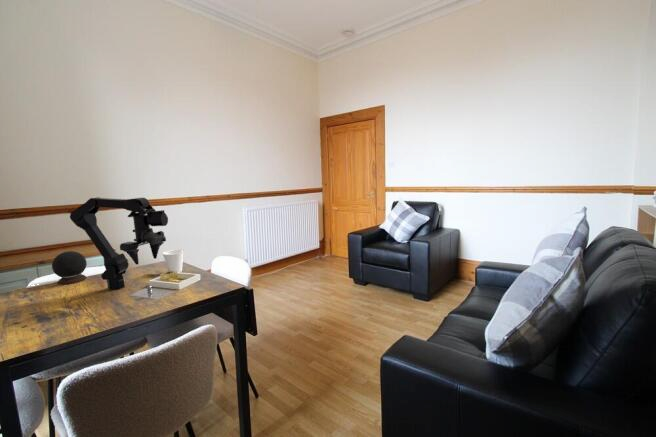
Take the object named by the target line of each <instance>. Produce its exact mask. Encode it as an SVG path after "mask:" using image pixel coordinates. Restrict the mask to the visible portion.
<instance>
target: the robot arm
mask: <svg viewBox="0 0 656 437" xmlns="http://www.w3.org/2000/svg"><path fill="white" fill-rule="evenodd" d="M100 208H107V209H108V208H109V209H123V210H126V211H128V212H130V213H129V214H128V215H127V218H132V219H133V227H134V229H132V232H133V233H134V234H135V235H134V236H135V238H134V239H133V241H126V242H122V243H120V244H119V251H123V252H124V253H127V254H126V255H128V256H129V257H130V258H131V260H132V261H133V263H134V264H135V265H139V263H140V262H139V254H138V252H139V250H140V249H138V248H139V247H141V246H144V245H148V244H149V248H150V251H151V254H152V256H153V259H154V260H155V259H157V257H158V254H159V249H160V247H161V246H162V245H163V244H164V242H167V238H166V236H165V232H164V231H162V230H159V231H155V232H154V230H153V228H152V227H167V225H168V222H169V218H168V215H167V214H166V213H165V210H164V209H161V210H156V209H155V208H154V207H153V206H152V205H151V204H150V202H149V200H148V199H147V198H146V197H135V198H128V199H126V198H125V199H124V198H123V199H122V198H107V197H99V196H98V197H91V198H89V199H87V200H86V202H84V203H82V204H81V205H80V206H78V207H77V208H76V209H74V210H72V211H71V212H70V215H69V219H70V220H71V222H72V223H73V224H74V225H75V226H76V227H78V228H79V229H82V230H83V231H84V232H85V234H86V235H87V237H88V238H89V240H90V241H91V242H92V244H93V245H94V246H95V248H96V249H97V251H98V252H99V254H100V255H101V257H102V258H103V266H104V268H105V270H104V272H102V273H101V275H100V277H101V278H102V280H103V281H105V280H106V286H107V289H108V290H109V291H114V290H115V291H116V290H122V289H124V288H125V287H126V286H125V279H124V274H126V272H127V270H128V269H129V265H130V264H129V259H127V258H126V256H125V254H124V253H118V252H116V250H115V249H114V248H113V246H112V245H111V244H110V242H109V240H108V239H107V238H106V236H105V235H104V233H103V231H101V229H100V227H99V226H98V223H97V221H98V220H97V216H96V214H97V213H98V212H99V211H100Z"/></svg>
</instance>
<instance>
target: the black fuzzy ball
mask: <svg viewBox="0 0 656 437" xmlns="http://www.w3.org/2000/svg"><path fill="white" fill-rule="evenodd" d="M87 265H88V264H87V259H86V257H85V256H84V255H83V254H82V253H80V252H78V251H73V250H69V251H64V252H61V253H59V254H58V255H56V256H55V257H54V259H53V260H52V263H51V269H52V271H53V273H54V274H55V275H56V276H57V277H60V278H59V279H58V280H57V285H58V286H68V285H74V284H77V283H81V282H84V281H86V280H87V279H86V278H87V276H86V275H85V274H83V272H84V271H85V270H86V268H87ZM85 279H86V280H85Z"/></svg>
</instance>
